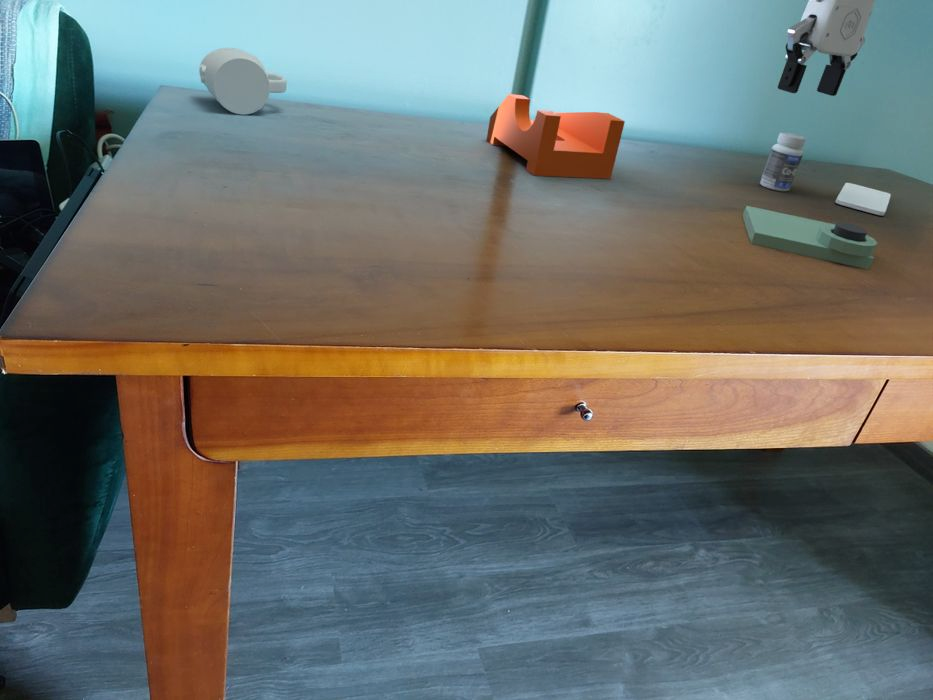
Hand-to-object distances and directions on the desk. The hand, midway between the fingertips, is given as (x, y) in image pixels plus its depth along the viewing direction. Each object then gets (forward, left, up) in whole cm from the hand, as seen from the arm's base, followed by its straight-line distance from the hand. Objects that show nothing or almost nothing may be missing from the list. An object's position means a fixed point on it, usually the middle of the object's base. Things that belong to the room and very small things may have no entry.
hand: (806, 92), depth 111 cm
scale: (0, +28, -15) cm, 32 cm away
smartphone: (-15, -3, -15) cm, 21 cm away
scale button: (-4, +32, -12) cm, 34 cm away
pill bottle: (0, 0, -15) cm, 15 cm away
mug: (+82, +21, -15) cm, 86 cm away
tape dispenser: (+36, +13, -15) cm, 41 cm away
